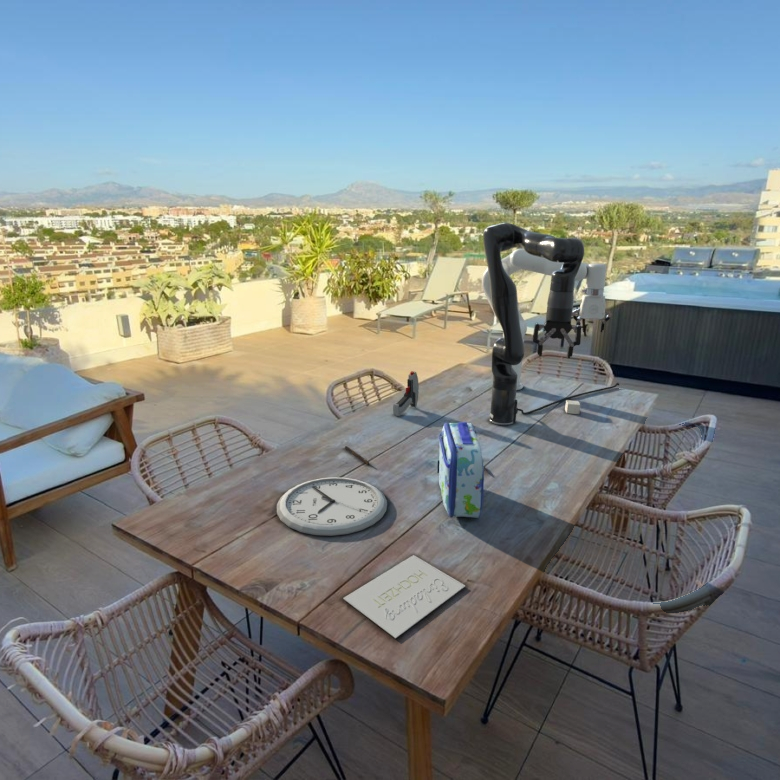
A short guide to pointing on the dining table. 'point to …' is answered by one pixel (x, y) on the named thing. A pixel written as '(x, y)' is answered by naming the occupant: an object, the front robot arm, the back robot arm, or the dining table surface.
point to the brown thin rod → (357, 455)
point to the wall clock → (331, 506)
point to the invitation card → (404, 595)
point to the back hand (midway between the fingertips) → (589, 331)
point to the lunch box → (461, 470)
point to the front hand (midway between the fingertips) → (554, 357)
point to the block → (572, 407)
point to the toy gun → (408, 395)
